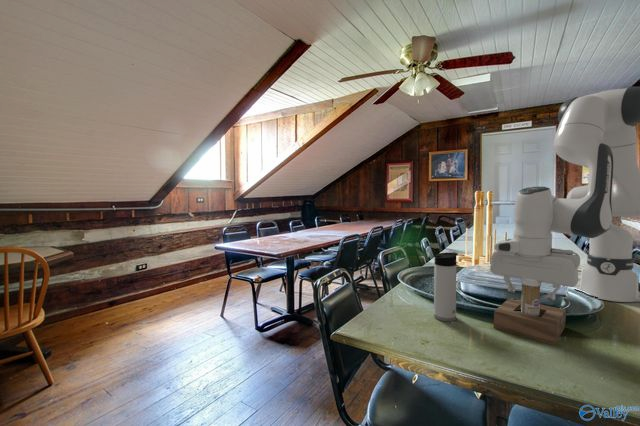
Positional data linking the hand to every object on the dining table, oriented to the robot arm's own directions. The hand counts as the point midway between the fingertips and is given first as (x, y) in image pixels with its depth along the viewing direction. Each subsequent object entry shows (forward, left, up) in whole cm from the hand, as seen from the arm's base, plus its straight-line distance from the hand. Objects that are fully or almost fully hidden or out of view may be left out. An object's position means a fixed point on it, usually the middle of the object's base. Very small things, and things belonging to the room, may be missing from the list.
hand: (530, 295), depth 89 cm
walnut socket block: (0, 0, -9) cm, 9 cm away
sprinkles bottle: (0, 0, -9) cm, 9 cm away
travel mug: (+9, -20, -10) cm, 24 cm away
